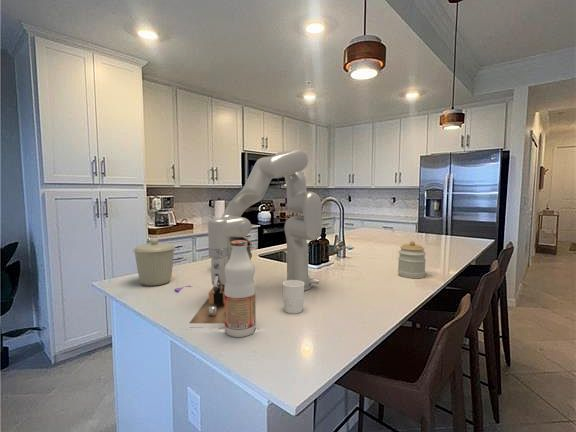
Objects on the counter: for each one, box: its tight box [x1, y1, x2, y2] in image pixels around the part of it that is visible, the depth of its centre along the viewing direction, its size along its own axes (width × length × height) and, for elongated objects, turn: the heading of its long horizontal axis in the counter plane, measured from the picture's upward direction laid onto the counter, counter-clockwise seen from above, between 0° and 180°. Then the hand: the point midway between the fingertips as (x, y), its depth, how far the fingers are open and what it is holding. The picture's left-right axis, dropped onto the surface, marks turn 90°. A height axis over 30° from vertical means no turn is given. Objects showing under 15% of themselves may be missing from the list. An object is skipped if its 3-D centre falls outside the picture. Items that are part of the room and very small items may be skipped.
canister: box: [132, 237, 176, 287], centre depth 148 cm, size 18×18×21 cm
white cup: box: [282, 280, 305, 314], centre depth 115 cm, size 8×8×10 cm
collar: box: [208, 286, 225, 304], centre depth 118 cm, size 7×7×4 cm
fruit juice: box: [224, 240, 257, 338], centre depth 98 cm, size 9×9×28 cm
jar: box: [397, 240, 427, 279], centre depth 161 cm, size 13×13×18 cm
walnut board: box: [189, 297, 225, 329], centre depth 112 cm, size 12×23×2 cm, turn 179°
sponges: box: [174, 284, 193, 293], centre depth 135 cm, size 7×13×2 cm, turn 43°
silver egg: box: [209, 306, 217, 317], centre depth 107 cm, size 2×2×3 cm
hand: (220, 299), depth 118 cm, fingers closed on collar, 7 cm apart
